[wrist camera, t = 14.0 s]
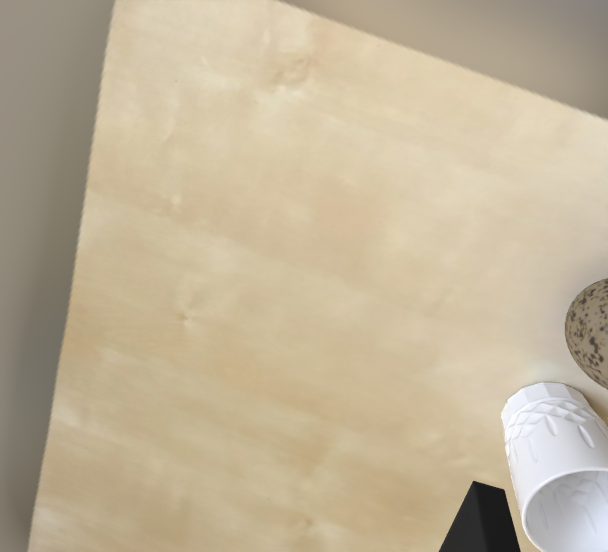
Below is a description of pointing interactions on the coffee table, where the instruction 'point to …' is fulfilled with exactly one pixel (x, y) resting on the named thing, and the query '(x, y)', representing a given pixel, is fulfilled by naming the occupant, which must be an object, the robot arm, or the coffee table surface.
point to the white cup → (558, 467)
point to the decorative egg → (590, 331)
